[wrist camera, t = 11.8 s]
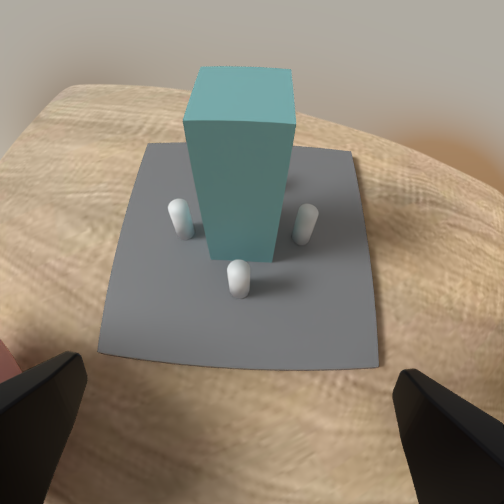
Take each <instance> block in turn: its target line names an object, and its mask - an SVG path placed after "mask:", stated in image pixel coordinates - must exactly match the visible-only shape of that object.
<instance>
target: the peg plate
mask: <svg viewBox="0 0 504 504" xmlns="http://www.w3.org/2000/svg"><path fill="white" fill-rule="evenodd" d="M97 352H99V353H101V354H106V355H112V356H118V357H125V358H132V359H138V360H146V361H153V362H162V363H170V364H180V365H190V366H201V367H214V368H228V369H248V370H282V371H315V370H349V369H368V368H376V367H379V360H378V340H377V324H376V311H375V300H374V290H373V280H372V271H371V263H370V255H369V248H368V241H367V234H366V228H365V221H364V215H363V209H362V204H361V198H360V193H359V187H358V182H357V177H356V172H355V167H354V163H353V158H352V154H351V151H342V150H333V149H324V148H313V147H301V146H292V152H291V158H290V164H289V170H288V176H287V182H286V187H285V193H284V199H283V205H282V210H281V216H280V221H279V227H278V232H277V238H276V243H275V249H274V254H273V260H272V263H269V262H249V261H244V260H239V259H238V260H234V261H229V260H211V258H210V254H209V249H208V245H207V240H206V236H205V231H204V226H203V222H202V217H201V212H200V208H199V203H198V198H197V193H196V188H195V183H194V178H193V173H192V168H191V163H190V158H189V152H188V147H187V143H149V144H148V145H147V148H146V151H145V153H144V156H143V159H142V162H141V165H140V168H139V171H138V174H137V178H136V181H135V184H134V187H133V190H132V194H131V197H130V200H129V204H128V207H127V211H126V214H125V218H124V222H123V226H122V229H121V233H120V237H119V241H118V245H117V249H116V253H115V258H114V262H113V266H112V271H111V276H110V280H109V285H108V290H107V295H106V300H105V306H104V311H103V317H102V323H101V329H100V336H99V343H98V350H97Z"/></svg>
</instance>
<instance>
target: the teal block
mask: <svg viewBox="0 0 504 504" xmlns="http://www.w3.org/2000/svg"><path fill="white" fill-rule="evenodd" d="M294 106H295V105H294V94H293V84H292V74H291V69H279V68H264V67H233V66H231V67H230V66H229V67H228V66H225V67H224V66H220V67H218V66H217V67H215V66H214V67H201V68H200V70H199V73H198V76H197V79H196V82H195V84H194V88H193V90H192V93H191V96H190V99H189V102H188V105H187V108H186V112H185V115H184V118H183V125H184V131H185V136H186V142H187V147H188V152H189V158H190V163H191V168H192V173H193V178H194V183H195V188H196V193H197V198H198V203H199V208H200V212H201V217H202V222H203V226H204V231H205V236H206V240H207V245H208V249H209V254H210V258H211V260H229V261H234V260H238V259H239V260H244V261H249V262H269V263H272V260H273V254H274V249H275V243H276V238H277V232H278V227H279V221H280V216H281V210H282V205H283V199H284V193H285V187H286V182H287V176H288V170H289V164H290V158H291V152H292V146H293V140H294V134H295V128H296V116H295V107H294Z"/></svg>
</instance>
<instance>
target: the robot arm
mask: <svg viewBox="0 0 504 504" xmlns="http://www.w3.org/2000/svg"><path fill="white" fill-rule="evenodd" d="M86 384H87V373H86V370H85V367H84V363H83V360H82V357H81V355H80V354H79V353H76V352H71V351H66V352H64V353H62V354H60V355H58V356H56V357H54V358H51V359H49V360H47V361H45V362H43V363H41V364H39V365H37V366H35V367H33V368H31V369H29V370H27V371H25V372H23V373H20V374H18V375H16V376H14V377H12V378H10V379H8V380H6V381H4V382H2V383H0V504H43V503H44V500H45V497H46V494H47V492H48V489H49V486H50V483H51V480H52V478H53V475H54V472H55V470H56V467H57V464H58V462H59V459H60V457H61V454H62V452H63V449H64V447H65V444H66V442H67V439H68V437H69V434H70V432H71V430H72V427H73V425H74V422H75V419H76V416H77V412H78V409H79V406H80V403H81V399H82V396H83V393H84V390H85V387H86ZM392 397H393V403H394V408H395V412H396V417H397V422H398V428H399V433H400V438H401V442H402V446H403V449H404V452H405V456H406V459H407V462H408V466H409V469H410V473H411V476H412V480H413V484H414V487H415V491H416V495H417V499H418V502H419V504H504V425H503V423H502V422H500V421H498V420H497V419H495V418H493V417H492V416H490V415H489V414H487V413H485V412H484V411H482V410H481V409H479V408H477V407H476V406H474V405H473V404H471V403H469V402H468V401H466V400H465V399H463V398H461V397H460V396H458V395H457V394H455V393H453V392H452V391H450V390H449V389H447V388H445V387H444V386H442V385H441V384H439V383H437V382H436V381H434V380H433V379H431V378H429V377H428V376H426V375H425V374H423V373H422V372H420V371H418V370H417V369H404V370H402V371H401V372H400V374H399V377H398V380H397V382H396V385H395V387H394V390H393V395H392Z"/></svg>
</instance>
